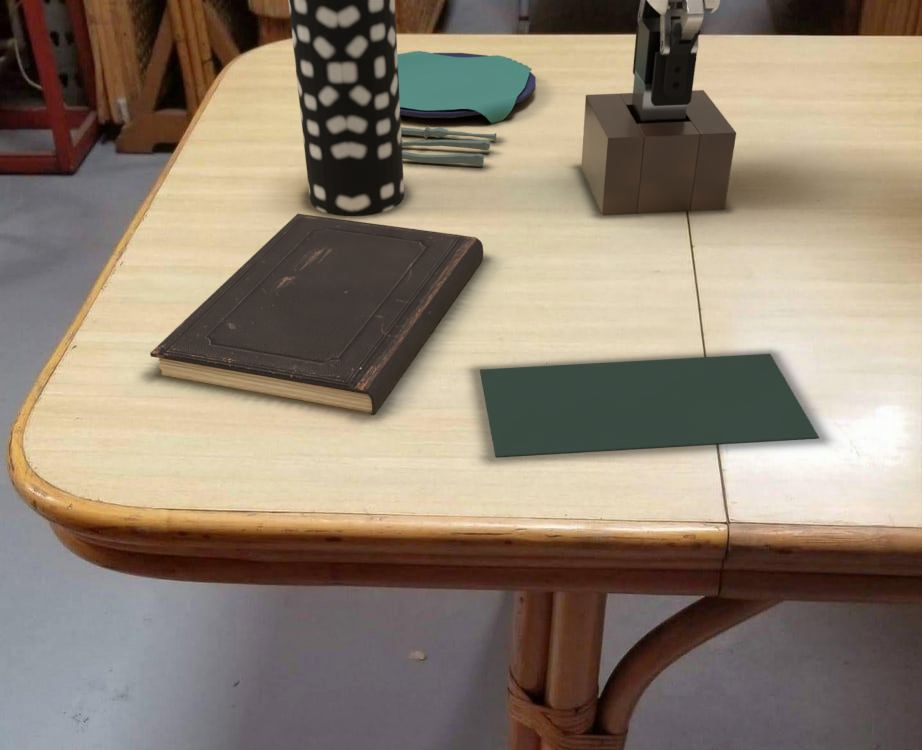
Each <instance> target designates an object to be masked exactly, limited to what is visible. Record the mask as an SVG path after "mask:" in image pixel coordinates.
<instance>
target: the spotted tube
mask: <svg viewBox="0 0 922 750" xmlns="http://www.w3.org/2000/svg"><path fill="white" fill-rule="evenodd" d="M287 1H288V10H289V18H290V19H289V20H290V28H291V37H292V38H291V39H292V46H293V47H292V48H293V55H294V56H293V57H294V67H295V75H296V83H297V84H296V85H297V91H298V93H297V94H298V102H299V103H298V104H299V111H300V112H299V113H300V120H301V121H300V122H301V129H302V139H303V140H302V141H303V149H304V158H305V167H306V176H307V185H308V193H309V194H308V195H309V202H310V204H311V205H312V206H313V207H314V209H316V210H318V211H320V212H322V213H326V214H329V215H333V216H340V217H341V216H342V217H365V216H372V215H376V214H381V213H385V212H387V211H390V210H393V209H394V208H396V207H397V206H399V205H400V204H401V203H402V201H403V200H404V198H405V185H404V184H405V183H404V163H403V161H404V159H402V152H403V146H402V141H403V140H402V134H401V127H402V122H401V120H402V119H401V115H400V98H399V78H398V58H397V54H398V41H397V39H398V37H397V20H396V19H397V18H396V0H287Z"/></svg>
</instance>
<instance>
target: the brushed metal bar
mask: <svg viewBox="0 0 922 750" xmlns="http://www.w3.org/2000/svg"><path fill="white" fill-rule="evenodd" d="M680 22H681V20H680V19H679V20H671V33H672V30H673V28H674V26H675V24H676V23H680ZM638 26H639V31H638V42H637V53H636V64H635V75H634V74H633V76H634V77H633V89H632V93H633V97H632V109H631V115H632V117H633V118H634V120H635V122H636V123H637V124H645V123H668V122H685V118H686V109H687V105H670V106H654V105H653V104H652V102H651V92H652V82H653V72H654V62H655V52H660V18H644V19H640V20H639V24H638Z"/></svg>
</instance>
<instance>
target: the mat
mask: <svg viewBox="0 0 922 750" xmlns="http://www.w3.org/2000/svg"><path fill="white" fill-rule="evenodd" d="M479 374H480V379H481V385H482V390H483V397H484V400H485V401H484V403H485V407H486V413H487V418H488V423H489V429H490V434H491V440H492V446H493V450H494V455H495V458H496V459H497V458H512V457H531V456H546V455H562V454H563V455H566V454H581V453H599V452H617V451H631V450H651V449H666V448H681V447H698V446H701V447H702V446H715V445H730V444H731V445H733V444H734V445H735V444H749V443H750V444H751V443H766V442H767V443H768V442H783V441H784V442H785V441H799V440H800V441H801V440H802V441H803V440H815V439H816V440H817V439H819V437H820V436H819V435H818V433H817V432H816V430H815V428H814V426H813V425H812V423H811V421H810V419H809V418H808V416H807V414H806V412H805V411H804V409H803V407H802V405H801V404H800V402H799V400H798V399H797V397H796V396H795V394H794V392H793V390H792V389H791V387H790V385H789V384H788V382H787V380H786V379H785V377H784V374H783V373H782V372H781V370H780V368H779V366H778V364H777V363H776V361H775V359H774V358H773V356H772V354H771V353H759V354H758V353H755V354H739V355H738V354H737V355H720V356H717V355H716V356H702V357H701V356H700V357H683V358H665V359H645V360H627V361H607V362H591V363H574V364H571V363H570V364H554V365H553V364H552V365H536V366H533V365H532V366H517V367H497V368H481V369H479Z"/></svg>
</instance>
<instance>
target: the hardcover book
mask: <svg viewBox="0 0 922 750" xmlns="http://www.w3.org/2000/svg"><path fill="white" fill-rule="evenodd" d="M483 260H484V244H483V243H482V241H481V240H480V239H479V238H478V237H476V236H470V235H469V236H468V235H462V234H454V233H447V232H439V231H432V230H424V229H417V228H409V227H401V226H393V225H387V224H379V223H372V222H365V221H357V220H349V219H344V218H343V219H342V218H335V217H327V216H319V215H312V214H304V213H296V214H295V215H294V216H293V217H292V218H291V219H290V220H289V221H288V222H287V223H286V224H285V225H284V226H282V227H281V229H280V230H278V231H277V232H276V233H275V234H274V235H273V236H272V237H270V239H269V240H268V241H267V242H266V243H265V244H264V245H263V246H262V247H260V249H258V250H257V251H256V252H255V253H254V254H253V255H252V256H251V257H250V258H249V259H248V260H247V261H245V262H244V264H243V265H242V266H240V267H239V268H238V269H237V270H236V271H235V272H234V273H233V274H232V275H231V276H230V277H229V278H228V279H226V281H225V282H223V283H222V284H221V285H220V286H219V287H218V288H217V289H216V290H215V291H214V292H213V293H212V294H211V295H210V296H209V297H207V298H206V299H205V300H204V302H202V303H201V304H200V305H199V306H198V307H197V308H196V309H195V310H194V311H193V312H192V313H190V315H188V317H186V318H185V319H184V320H183V321H182V322H181V323H180V324H179V325H178V326H176V328H175V329H174V330H173V331H171V332H170V334H168V335H167V336H166V337H165V338H164V339H163V340H162V341H161V342H160V343H159V344H158V345H157V346H155V348H153V350H152V351H151V352H149V354H150V358H151V357H152V358H156V359H157V358H158V362H159V364H158V368H159V369H160V370H161V375H162V376H166V377H171V378H177V379H181V380H182V379H183V380H187V381H193V382H199V383H205V384H210V385H217V386H222V387H227V388H232V389H238V390H244V391H248V392H254V393H260V394H266V395H272V396H277V397H282V398H287V399H294V400H300V401H304V402H311V403H315V404H321V405H327V406H332V407H338V408H344V409H349V410H354V411H359V412H366V413H371V414H370V415H371V416H374V415H375V414H376V413H377V411H378V410H379V408H380V407H381V406H382V404H383V403H384V401H385V400H386V399H387V397H388V396H389V394H390V393H391V391H392V390H393V388H394V387H395V385H396V384H397V382H398V381H399V380H400V378H401V377H402V376H403V374H404V372H405V371H406V370H407V368H408V367H409V365H410V364H411V363H412V361H413V360H414V358H415V357H416V355H417V354H418V352H419V351H420V350H421V348H422V347H423V345H424V344H425V343H426V342H427V340H428V338H429V337H430V336H431V334H432V333H433V331H434V330H435V328H436V327H437V325H438V324H439V322H440V321H441V319H443V317H444V316H445V314H446V312H447V311H448V310H449V308H450V307H451V305H453V303H454V301H455V300H456V299H457V297H458V295H459V294H460V292H461V291H462V290H463V288H464V287H465V285H466V284H467V282H468V281H469V280H470V279H471V277H472V275H473V274H474V273H475V271H476V270H477V268H478V267H479V266H480V264H481V263H482V261H483Z"/></svg>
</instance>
